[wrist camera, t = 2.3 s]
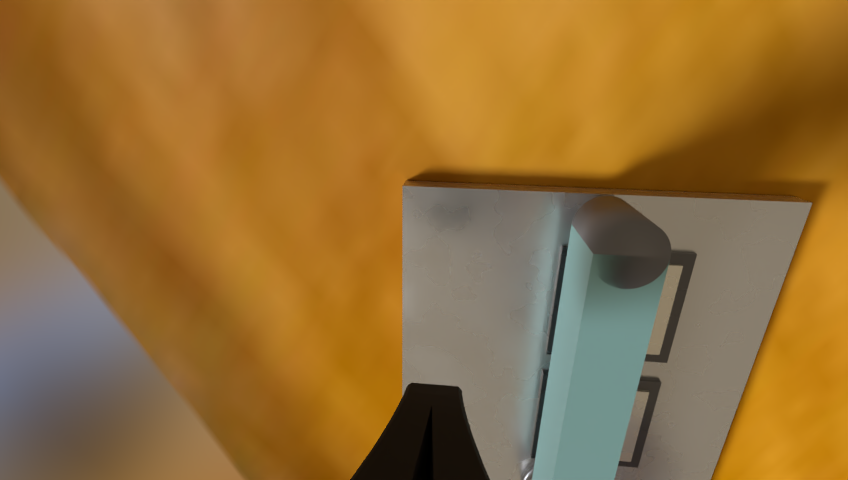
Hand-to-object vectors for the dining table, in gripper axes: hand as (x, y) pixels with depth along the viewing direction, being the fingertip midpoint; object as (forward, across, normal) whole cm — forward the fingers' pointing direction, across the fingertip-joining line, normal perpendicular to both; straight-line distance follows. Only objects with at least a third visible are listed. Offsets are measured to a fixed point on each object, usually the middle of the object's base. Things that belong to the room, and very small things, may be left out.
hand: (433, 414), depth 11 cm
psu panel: (+9, -6, +5) cm, 12 cm away
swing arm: (+7, -6, +5) cm, 11 cm away
